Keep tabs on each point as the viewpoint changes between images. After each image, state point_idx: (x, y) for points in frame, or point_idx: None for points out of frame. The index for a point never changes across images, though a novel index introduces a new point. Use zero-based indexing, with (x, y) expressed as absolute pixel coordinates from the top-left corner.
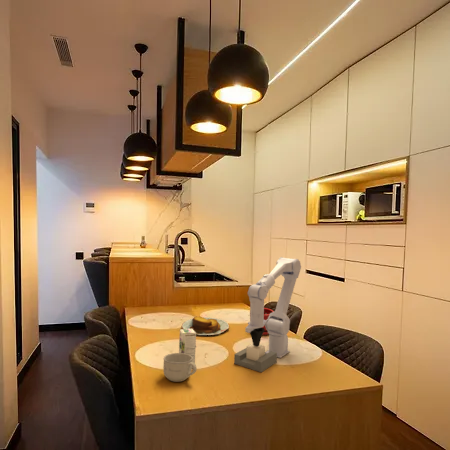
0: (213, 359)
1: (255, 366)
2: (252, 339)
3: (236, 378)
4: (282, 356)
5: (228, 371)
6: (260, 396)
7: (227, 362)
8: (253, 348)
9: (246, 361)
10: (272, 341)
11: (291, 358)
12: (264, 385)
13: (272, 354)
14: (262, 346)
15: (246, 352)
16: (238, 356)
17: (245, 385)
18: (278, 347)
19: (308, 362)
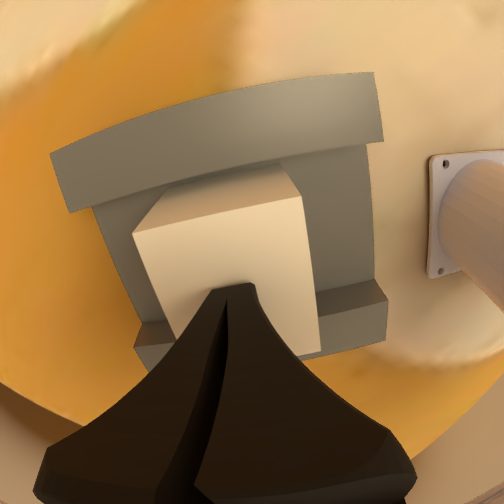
0: (33, 14)
1: (144, 319)
2: (180, 344)
3: (25, 298)
4: (449, 271)
5: (15, 216)
6: (65, 410)
7: (66, 96)
8: (169, 319)
9: (123, 243)
10: (497, 265)
11: (453, 307)
12: (108, 395)
13: (332, 347)
14: (294, 344)
15: (154, 205)
16: (69, 194)
17: (41, 354)
18: (475, 282)
19: (443, 367)
